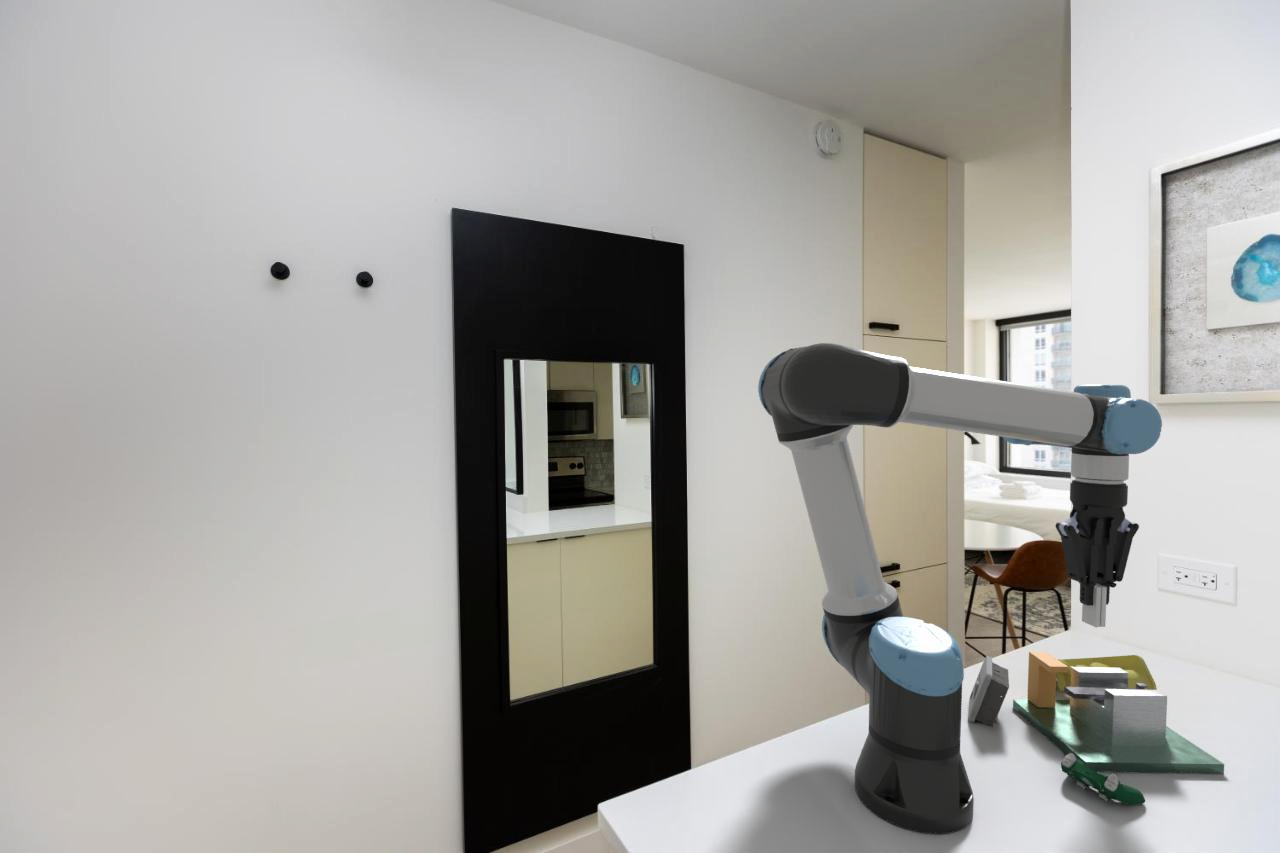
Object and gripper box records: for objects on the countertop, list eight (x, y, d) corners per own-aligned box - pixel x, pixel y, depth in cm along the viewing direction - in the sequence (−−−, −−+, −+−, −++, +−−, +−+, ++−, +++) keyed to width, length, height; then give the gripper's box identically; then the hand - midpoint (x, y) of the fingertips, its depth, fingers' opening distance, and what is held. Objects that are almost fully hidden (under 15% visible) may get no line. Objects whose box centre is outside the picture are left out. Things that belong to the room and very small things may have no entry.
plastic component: (1098, 657, 128) (1147, 654, 119) (1111, 696, 125) (1161, 696, 116) (1021, 661, 122) (1066, 658, 113) (1032, 703, 119) (1079, 703, 111)
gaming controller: (1066, 784, 93) (1049, 763, 91) (1078, 762, 94) (1061, 741, 92) (1136, 822, 85) (1119, 801, 83) (1149, 798, 86) (1131, 776, 84)
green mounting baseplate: (1085, 771, 93) (1087, 709, 92) (1012, 707, 112) (1014, 655, 111) (1223, 773, 92) (1226, 711, 92) (1127, 708, 111) (1129, 656, 111)
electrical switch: (969, 700, 115) (976, 651, 114) (1001, 709, 112) (1008, 660, 111) (967, 723, 107) (974, 671, 106) (1002, 734, 104) (1010, 681, 103)
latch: (1048, 716, 106) (1050, 666, 105) (1027, 698, 112) (1028, 651, 111) (1066, 716, 106) (1068, 666, 105) (1044, 699, 112) (1046, 651, 111)
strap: (1074, 699, 101) (1074, 693, 101) (1063, 691, 103) (1064, 685, 103) (1160, 702, 100) (1160, 695, 100) (1147, 694, 103) (1148, 688, 103)
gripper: (1116, 476, 105) (1110, 614, 107) (1043, 477, 104) (1038, 617, 105) (1157, 482, 98) (1151, 630, 99) (1079, 484, 97) (1074, 634, 98)
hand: (1093, 623), depth 102 cm, fingers closed
